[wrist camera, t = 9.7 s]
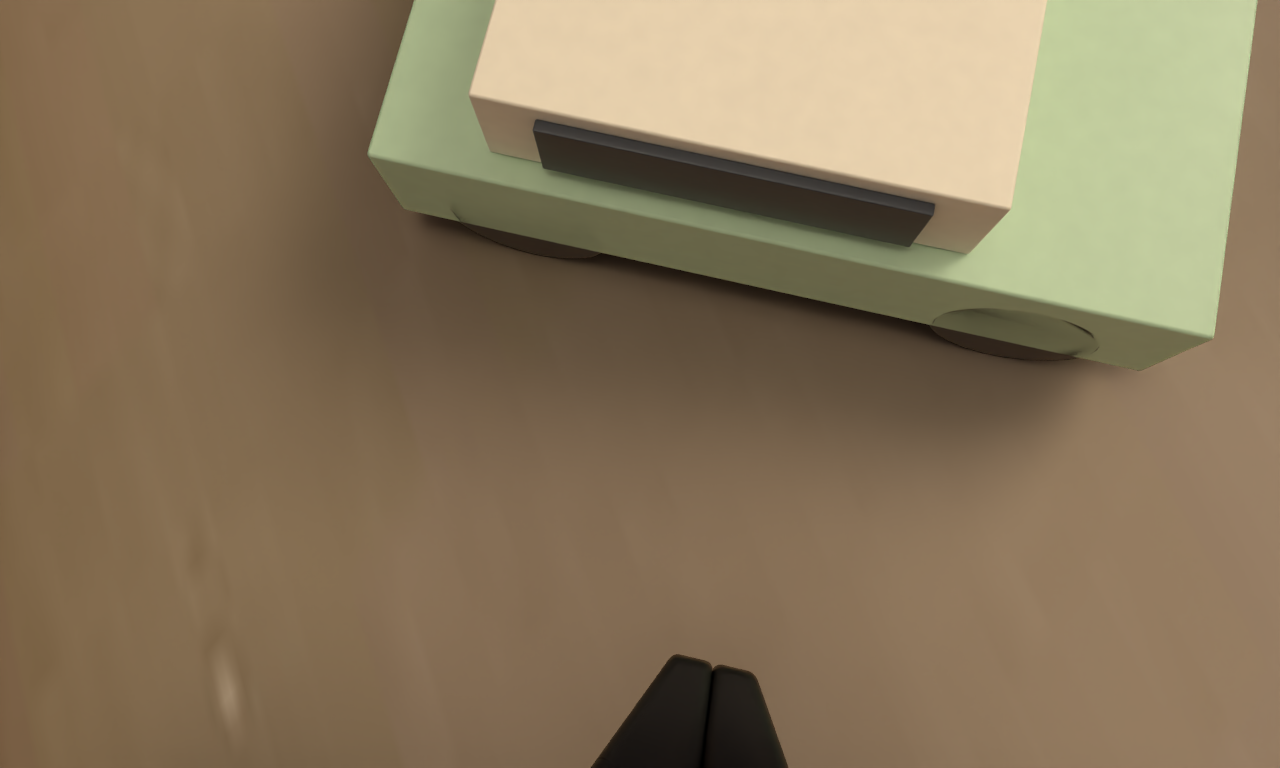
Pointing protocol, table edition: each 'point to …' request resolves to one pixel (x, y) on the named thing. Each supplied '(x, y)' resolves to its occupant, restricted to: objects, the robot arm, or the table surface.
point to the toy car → (851, 152)
